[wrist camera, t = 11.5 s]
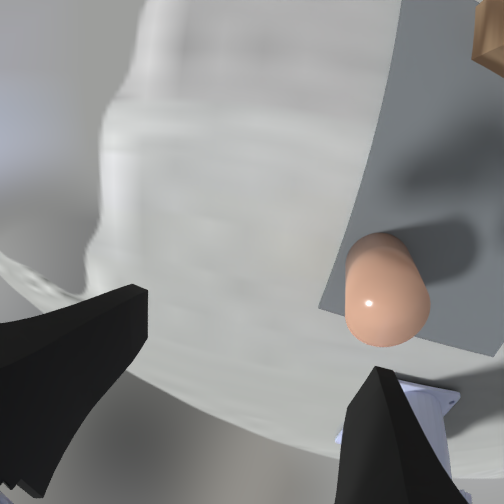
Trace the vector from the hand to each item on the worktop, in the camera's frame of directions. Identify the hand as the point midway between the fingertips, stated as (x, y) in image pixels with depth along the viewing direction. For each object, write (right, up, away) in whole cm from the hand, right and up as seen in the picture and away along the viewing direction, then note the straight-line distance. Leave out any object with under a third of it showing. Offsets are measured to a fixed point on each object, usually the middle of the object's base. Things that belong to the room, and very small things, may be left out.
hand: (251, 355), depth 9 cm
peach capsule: (+7, +2, +8) cm, 11 cm away
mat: (+14, +7, +5) cm, 16 cm away
